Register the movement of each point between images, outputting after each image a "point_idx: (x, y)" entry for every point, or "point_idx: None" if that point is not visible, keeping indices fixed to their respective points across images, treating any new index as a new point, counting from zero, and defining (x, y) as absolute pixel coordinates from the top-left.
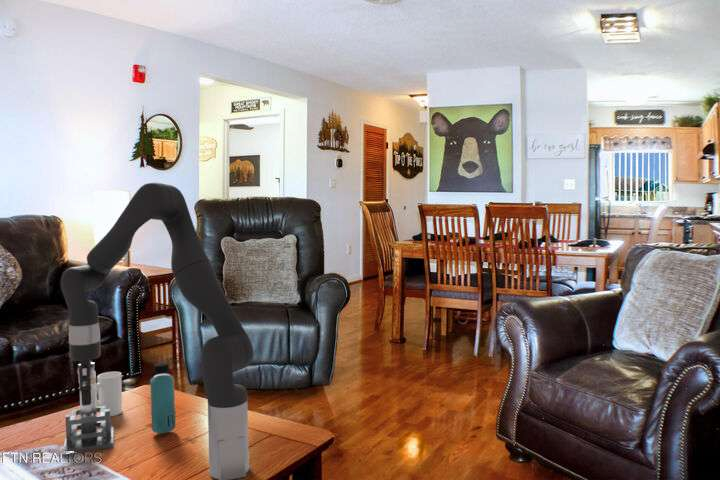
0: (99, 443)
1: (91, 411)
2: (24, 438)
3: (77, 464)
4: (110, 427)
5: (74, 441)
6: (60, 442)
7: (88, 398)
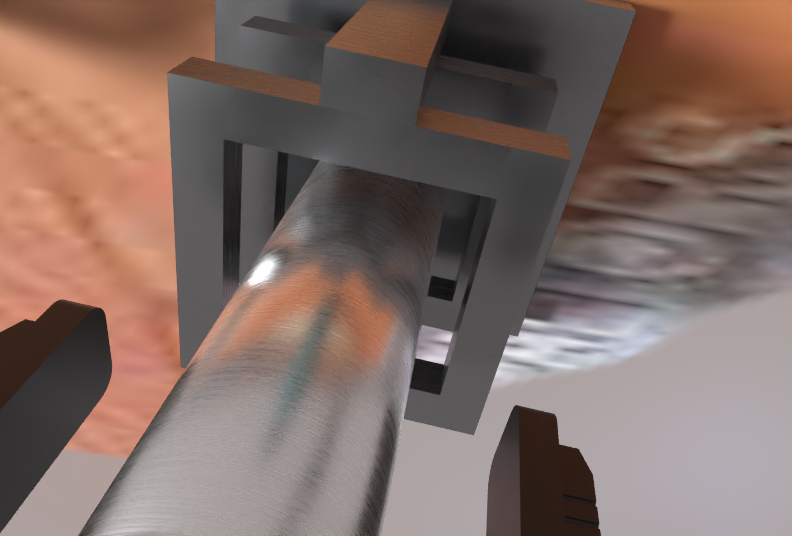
0: (558, 116)
1: (424, 288)
2: (144, 407)
3: (741, 278)
4: (446, 16)
5: None
6: None
7: (592, 522)
